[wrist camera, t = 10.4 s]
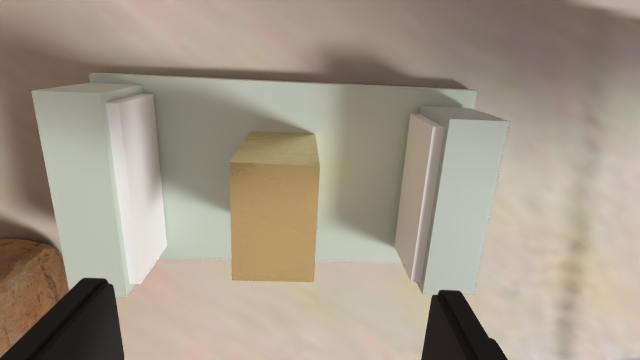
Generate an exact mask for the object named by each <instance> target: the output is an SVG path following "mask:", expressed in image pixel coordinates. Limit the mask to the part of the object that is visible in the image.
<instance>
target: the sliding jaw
mask: <svg viewBox="0 0 640 360" xmlns="http://www.w3.org/2000/svg"><path fill="white" fill-rule="evenodd" d="M509 123H510V121H507V120H504V119H501V118H498V117H495V116H492V115H489V114H486V113H483V112H480V111H477V110H474V109H471V108H459V107H436V106H421V107H420V114H410V121H409V129H408V137H407V145H406V154H405V162H404V170H403V178H402V186H401V194H400V203H399V211H398V219H397V227H396V235H395V243H394V247H395V249H396V251H397V253H398V256H399V258H400V260H401V262H402V264H403V266H404V268H405V270H406V272H407V275H408V277H409V279H410V281H411V282H417V284H418V286H419V288H420V290H421V292H422V294H426V295H438V292H439V291H440V290H459V291H461V293H462V294H463V295H474V292H475V288H476V283H477V278H478V273H479V268H480V263H481V259H482V254H483V249H484V244H485V239H486V234H487V230H488V225H489V220H490V215H491V210H492V205H493V201H494V196H495V191H496V186H497V181H498V176H499V172H500V167H501V162H502V157H503V152H504V147H505V143H506V138H507V133H508V128H509Z"/></svg>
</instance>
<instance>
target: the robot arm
mask: <svg viewBox="0 0 640 360" xmlns="http://www.w3.org/2000/svg"><path fill="white" fill-rule="evenodd" d="M0 360H124V352H123V345H122V338H121V332H120V325H119V318H118V312H117V305H116V298H115V292H114V287H113V285H112V284H109V283H108V281H107V279H105V278H83V279H81V280H80V281H79V282H78V283H77V284H76V285H75V286H74V287H73V288H72V289H71V290H70V291H69V292H68V293H67V294H65V295H64V296H63V297H62V298H61V299H60V300H59V301H58V302H57V303H56V304H55V305H54V306H53V307H52V308H51V309H50V310H49V311H48V312H47V313H46V314H45V315H44V316H43V317H42V318H41V319H40V320H39V321H38V322H37V323H36V324H35V325H34V326H32V327H31V328H30V329H29V330H28V331H27V332H26V333H25V334H24V335H23V336H22V337H21V338H20V339H19V340H18V341H17V342H16V343H15V344H14V345H13V346H12V347H11V348H10V349H9V350H8V351H7V352H6V353H5V354H4V355H3V356H2V357H0ZM421 360H508V359H507V358H506V356H505V355H504V353H503V351H502V350H501V348H500V347H499V345H498V344H497V342H496V341H495V340H494V339H492V338H489V337H488V335H487V334H486V332H485V330H484V329H483V327H482V326H481V324H480V322H479V321H478V319H477V317H476V316H475V314H474V312H473V311H472V309H471V307H470V306H469V304H468V302H467V301H466V299H465V297H464V296H463V294H462V293H461V291H459V290H440V291H439V292H438V295H433V296H432V299H431V305H430V311H429V317H428V323H427V329H426V335H425V341H424V347H423V353H422V359H421Z"/></svg>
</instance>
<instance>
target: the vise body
mask: <svg viewBox="0 0 640 360" xmlns="http://www.w3.org/2000/svg"><path fill="white" fill-rule="evenodd" d="M88 74H89V81H90V82H89V83H82V84H75V85H68V86H60V87H53V88H46V89H39V90H32V91H31V93H32V98H33V104H34V109H35V114H36V119H37V125H38V130H39V135H40V140H41V146H42V151H43V156H44V161H45V166H46V172H47V177H48V182H49V187H50V193H51V198H52V203H53V208H54V214H55V219H56V224H57V229H58V235H59V240H60V245H61V250H62V256H63V261H64V266H65V271H66V276H67V282H68V287H69V291H70V290H71V289H72V288H73V287H74V286H75V285H76V284H77V283H78V282H79V281H80V280H81V279H83V278H105V279H107V281H108V283H109V284H112V285H113V287H114V292H115V297H127V296H128V294H129V293H130V292H131V290H132V289H133V288H134V286H135V285H136V284H141V283H142V281H143V280H144V278H145V277H146V276H147V274H148V273H149V271H150V270H151V268H152V267H153V266H154V264H155V263H156V261H157V260H158V258H170V259H224V260H232V256H231V214H230V173H229V162H230V160H231V159H232V157H233V156H234V154H235V153H236V151H237V150H238V148H239V147H240V145H241V144H242V142H243V141H244V140H245V138H246V137H247V135H248V134H249V132H250V131H261V132H284V133H307V134H315V136H316V142H317V149H318V155H319V162H320V177H319V196H318V214H317V232H316V250H315V261H332V262H386V263H402V262H401V260H400V258H399V256H398V253H397V251H396V249H395V247H394V243H395V235H396V227H397V219H398V211H399V203H400V194H401V186H402V178H403V170H404V162H405V154H406V145H407V137H408V129H409V121H410V114H420V107H421V106H436V107H459V108H471V109H474V110H475V104H476V98H477V93H478V91H475V90H471V89H453V88H431V87H409V86H387V85H364V84H342V83H320V82H298V81H276V80H254V79H232V78H210V77H188V76H166V75H144V74H122V73H100V72H99V73H88Z"/></svg>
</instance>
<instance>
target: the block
mask: <svg viewBox="0 0 640 360" xmlns="http://www.w3.org/2000/svg"><path fill="white" fill-rule="evenodd" d="M68 292H69V287H68V282H67V276H66V271H65V266H64V261H63V256H62V255H61V253H60V252H59V251H58V250H57V249H56V248H55V247H53V246H52V245H48V244H44V243H37V242H33V241H30V240H22V239H0V357H2V356H3V355H4V354H5V353H6V352H7V351H8V350H9V349H10V348H11V347H12V346H13V345H14V344H15V343H16V342H17V341H18V340H19V339H20V338H21V337H22V336H23V335H24V334H25V333H26V332H27V331H28V330H29V329H30V328H31V327H32V326H34V325H35V324H36V323H37V322H38V321H39V320H40V319H41V318H42V317H43V316H44V315H45V314H46V313H47V312H48V311H49V310H50V309H51V308H52V307H53V306H54V305H55V304H56V303H57V302H58V301H59V300H60V299H61V298H62V297H63V296H64V295H65V294H67V293H68Z"/></svg>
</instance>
